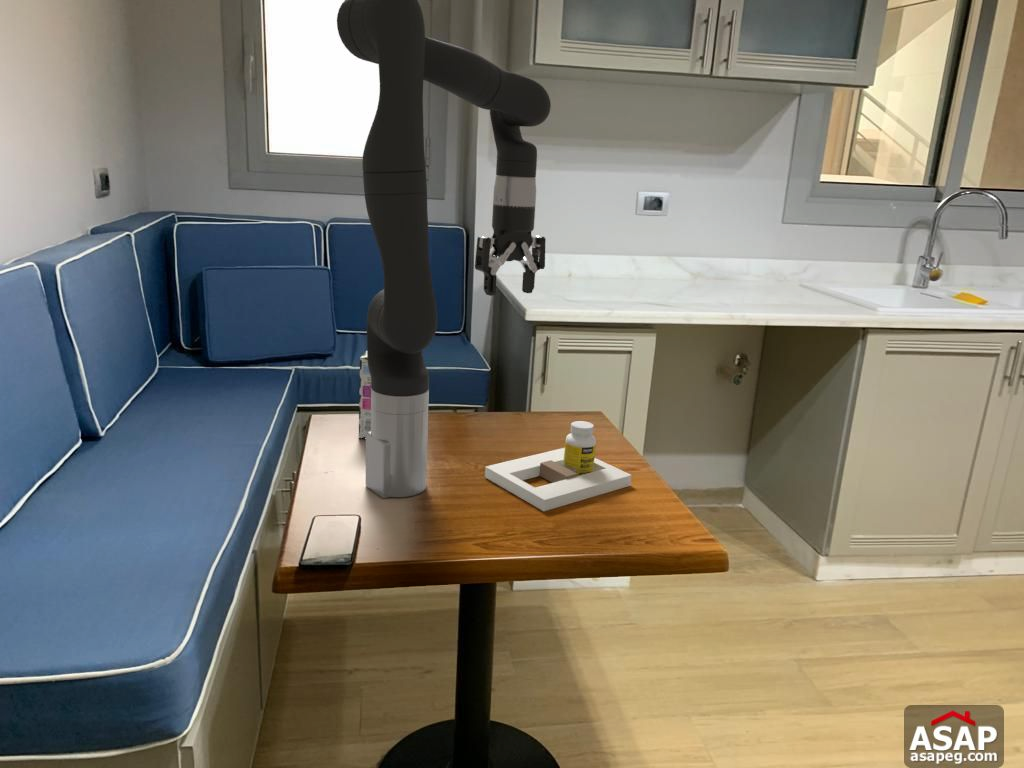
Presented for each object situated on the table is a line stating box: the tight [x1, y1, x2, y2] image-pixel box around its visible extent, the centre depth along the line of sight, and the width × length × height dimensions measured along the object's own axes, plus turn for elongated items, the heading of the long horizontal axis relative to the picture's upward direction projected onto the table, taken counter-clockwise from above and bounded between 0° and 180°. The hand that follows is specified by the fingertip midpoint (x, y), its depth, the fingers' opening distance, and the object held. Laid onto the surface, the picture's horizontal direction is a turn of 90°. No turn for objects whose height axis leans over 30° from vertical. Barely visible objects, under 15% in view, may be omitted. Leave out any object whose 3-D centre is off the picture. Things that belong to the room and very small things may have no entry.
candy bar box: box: [358, 350, 371, 439], centre depth 153 cm, size 11×5×16 cm, turn 178°
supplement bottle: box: [563, 420, 597, 476], centre depth 138 cm, size 5×5×10 cm
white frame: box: [484, 447, 632, 512], centre depth 136 cm, size 20×16×2 cm
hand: (509, 293), depth 142 cm, fingers open, 8 cm apart
